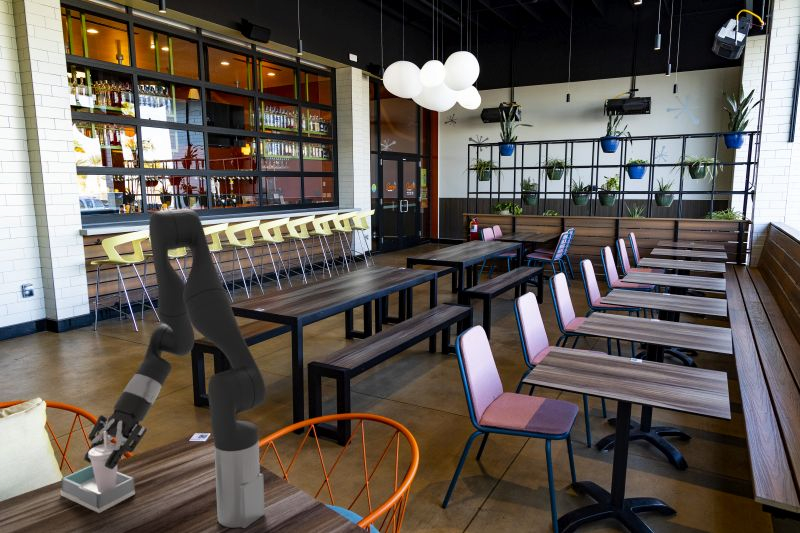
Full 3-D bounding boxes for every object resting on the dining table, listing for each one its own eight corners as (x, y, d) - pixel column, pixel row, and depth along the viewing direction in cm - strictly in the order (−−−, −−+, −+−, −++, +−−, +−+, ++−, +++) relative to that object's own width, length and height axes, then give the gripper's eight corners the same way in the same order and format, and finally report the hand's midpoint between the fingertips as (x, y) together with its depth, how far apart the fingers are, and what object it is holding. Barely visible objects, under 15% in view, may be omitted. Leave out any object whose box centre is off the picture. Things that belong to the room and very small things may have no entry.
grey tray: (135, 493, 127) (134, 478, 126) (99, 513, 119) (97, 496, 119) (97, 478, 134) (96, 463, 133) (60, 495, 126) (59, 479, 126)
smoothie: (113, 496, 122) (108, 437, 120) (85, 496, 122) (80, 437, 120) (127, 481, 128) (123, 425, 126) (101, 480, 128) (96, 425, 126)
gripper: (107, 386, 132) (64, 452, 122) (150, 395, 126) (108, 465, 117) (127, 399, 137) (88, 464, 128) (169, 408, 131) (131, 476, 122)
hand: (98, 464), depth 122 cm, fingers closed on smoothie, 6 cm apart
